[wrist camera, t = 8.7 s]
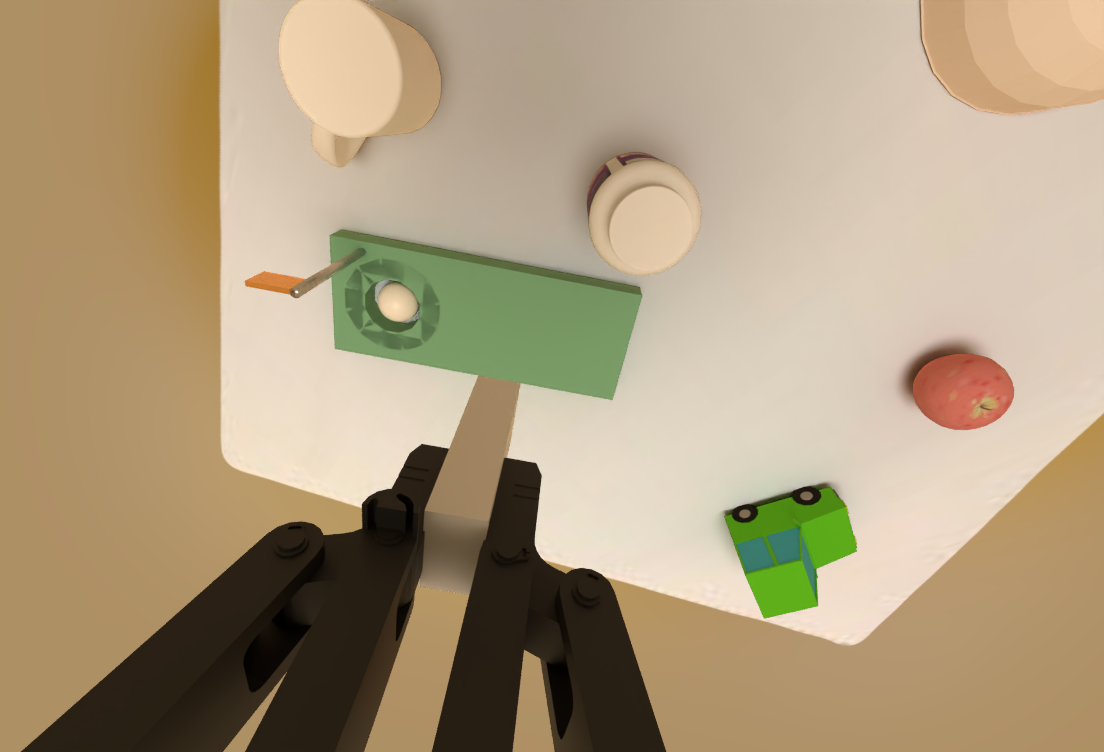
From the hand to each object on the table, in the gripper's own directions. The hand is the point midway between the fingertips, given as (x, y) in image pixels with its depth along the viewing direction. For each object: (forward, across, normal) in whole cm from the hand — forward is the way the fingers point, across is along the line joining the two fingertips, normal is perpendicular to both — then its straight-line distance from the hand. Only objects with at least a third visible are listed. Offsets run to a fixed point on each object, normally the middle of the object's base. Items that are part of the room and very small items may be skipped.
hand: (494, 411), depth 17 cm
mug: (+33, -16, +8) cm, 37 cm away
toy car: (+33, +36, -30) cm, 57 cm away
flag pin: (+30, -19, -5) cm, 35 cm away
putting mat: (+32, -5, -10) cm, 34 cm away
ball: (+32, -12, -10) cm, 35 cm away
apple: (+33, +43, -7) cm, 54 cm away
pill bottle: (+33, +7, +4) cm, 34 cm away
